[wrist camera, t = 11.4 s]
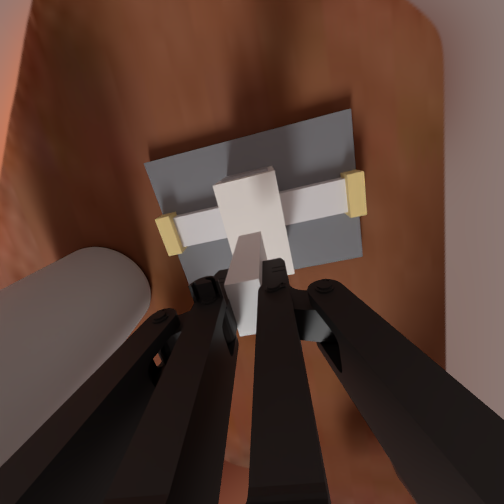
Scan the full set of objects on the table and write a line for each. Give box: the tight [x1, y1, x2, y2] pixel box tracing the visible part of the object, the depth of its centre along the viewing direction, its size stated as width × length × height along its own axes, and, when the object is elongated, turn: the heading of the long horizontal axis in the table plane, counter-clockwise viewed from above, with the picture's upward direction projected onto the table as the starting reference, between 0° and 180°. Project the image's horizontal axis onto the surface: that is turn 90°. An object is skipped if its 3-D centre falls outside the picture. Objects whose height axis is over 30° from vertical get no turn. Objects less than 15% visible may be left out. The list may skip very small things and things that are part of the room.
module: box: [213, 166, 295, 275], centre depth 24 cm, size 9×5×8 cm, turn 13°
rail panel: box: [144, 108, 367, 285], centre depth 28 cm, size 16×22×4 cm
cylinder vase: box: [0, 247, 151, 467], centre depth 23 cm, size 12×12×25 cm
